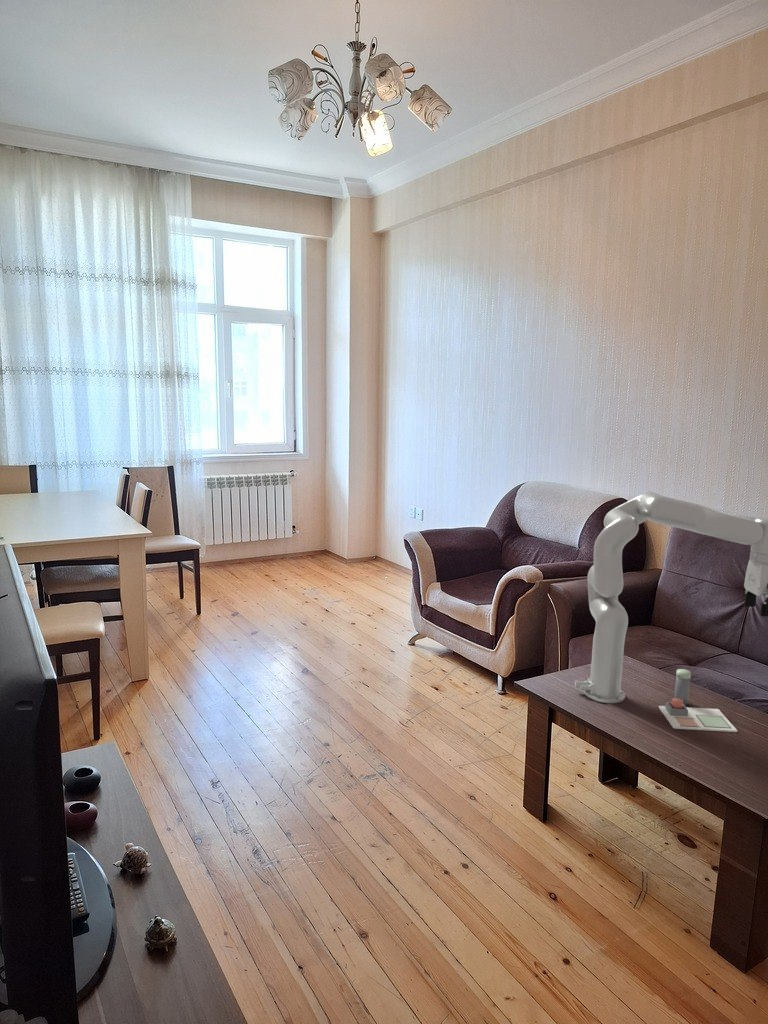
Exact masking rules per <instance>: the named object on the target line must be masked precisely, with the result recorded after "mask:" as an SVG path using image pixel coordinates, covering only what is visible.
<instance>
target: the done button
mask: <svg viewBox="0 0 768 1024" xmlns="http://www.w3.org/2000/svg"><path fill="white" fill-rule="evenodd" d="M670 702H671V707H672V708H673V709H682V708H683V700H681V699H679V698H674V697H673V698H671V701H670Z"/></svg>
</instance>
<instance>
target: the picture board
mask: <svg viewBox="0 0 768 1024" xmlns="http://www.w3.org/2000/svg"><path fill="white" fill-rule="evenodd" d="M671 702H672V701H669V702H668V701H665V705H658V708H659V710H660V711H661V713H662V714H663V715H664V717H665V719H666V720H667V722H668V723H669V724H670V725H671V727H672V728H673V729H675V730H676V729H677V730H690V731H692V730H693V731H695V730H696V731H711V732H724V733H726V732H728V733H738V730H737V728H736V727H735V726H734V725H733V724H732V723H731V722H730V721H729V719H728V718H727V717H726V716H725V715H724V714H723V712H721V710H720V709H719V708H704V707H691V706H690V707H687V706H684V704H683V708H682V709H673V708H672V707H671Z"/></svg>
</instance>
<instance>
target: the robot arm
mask: <svg viewBox="0 0 768 1024" xmlns="http://www.w3.org/2000/svg"><path fill="white" fill-rule="evenodd" d="M646 521H650V522H653V523H655V524H659V525H664V526H669V527H672V528H678V529H681V530H685V531H689V532H693V533H696V534H700V535H704V536H705V535H706V536H709V537H713V538H717V539H720V540H724V541H729V542H732V543H737V544H740V545H747V546H750V552H749V560H748V563H747V567H746V572H745V577H744V582H743V583H744V584H743V588H744V589H745V590H744V594H745V596H744V604H743V605H744V606H745V607H749V608H750V607H751V608H754V607H755V608H756V604H757V597H760V598H761V601H762V602H761V603H760V612H759V616H761V617H768V517H767V516H760V517H754V516H746V515H741V514H739V515H738V514H736V515H731V514H727V513H724V512H721V511H717V510H715V509H712V508H710V507H708V506H705V505H702V504H698V503H694V502H689V501H687V500H686V501H685V500H681V499H676V498H672V497H668V496H664V495H661V494H659V493H656V492H654V491H653V492H651V491H649V492H645V493H642V494H640V495H638V496H636V497H634V498H632V499H630V500H627V501H626V502H624V503H622V504H620V505H618V506H616V507H614V508H612V509H611V510H609V511H608V512H607V513H606V514H605V516H604V519H603V526H604V528H603V529H602V530H601V532H600V533H599V534H598V536H597V537H596V539H595V541H594V545H593V565H592V566H591V567H590V568H589V570H588V572H587V578H586V579H587V595H588V606H589V611H590V614H591V616H592V617H593V619H594V620H595V627H594V634H593V639H592V651H591V666H590V676H589V677H587V679H586V680H584V681H582V680H574V687H575V688H577V687H578V688H579V689H580V690H583V691H584V692H583V693H584V695H585V696H586V697H588V698H589V699H591V700H593V701H595V702H599V703H603V704H619V703H621V702H623V701H625V699H626V693H625V692H624V691H623V690H622V689H621V687H622V677H623V664H624V655H625V654H624V653H625V652H624V651H625V650H624V649H625V640H626V634H627V630H628V625H629V616H628V613H627V611H626V609H625V607H624V606H623V605H622V604H621V602H620V601H619V595H620V594H621V593H622V592H623V589H624V573H623V550H624V548H625V546H626V545H627V544H628V543H630V541H631V540H633V539H634V538H635V537H636V536H637V535H638V532H639V530H640V528H639V527H640V526H639V525H641V524H642V523H645V522H646Z"/></svg>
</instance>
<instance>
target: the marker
mask: <svg viewBox="0 0 768 1024" xmlns="http://www.w3.org/2000/svg"><path fill="white" fill-rule="evenodd" d="M675 674H676V675H675V676H676V677H675V686H674V687H675V688H674V697H673V698H679V699H681V700H683V704H684V706H685V707H687V706H688V705H687V704H689V703H688V701H689V696H690V694H689V693H690V683H691V677H692V672H691V671H690V670H688V669H685V668H678V669H676V673H675Z"/></svg>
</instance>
